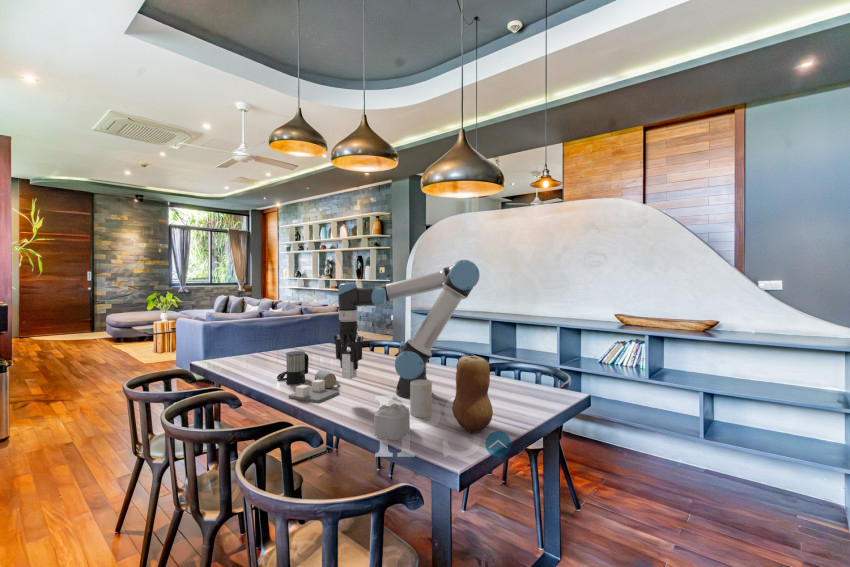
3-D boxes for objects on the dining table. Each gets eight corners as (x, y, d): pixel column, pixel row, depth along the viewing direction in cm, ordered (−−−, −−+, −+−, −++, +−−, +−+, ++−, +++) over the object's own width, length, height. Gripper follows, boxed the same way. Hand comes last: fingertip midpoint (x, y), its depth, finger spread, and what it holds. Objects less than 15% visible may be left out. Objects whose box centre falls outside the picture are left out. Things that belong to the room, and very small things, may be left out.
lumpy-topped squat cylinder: (370, 436, 136) (370, 410, 135) (389, 423, 147) (389, 399, 147) (398, 441, 131) (398, 414, 131) (415, 427, 143) (415, 402, 143)
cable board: (339, 394, 184) (339, 382, 183) (318, 402, 171) (318, 390, 171) (310, 389, 190) (310, 378, 190) (288, 398, 178) (288, 385, 178)
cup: (424, 418, 152) (424, 386, 152) (406, 414, 156) (406, 383, 156) (435, 412, 159) (435, 381, 159) (417, 408, 163) (417, 378, 163)
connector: (356, 376, 174) (355, 350, 174) (350, 378, 170) (350, 352, 170) (348, 375, 175) (347, 349, 175) (342, 378, 172) (342, 351, 172)
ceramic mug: (323, 390, 190) (324, 373, 190) (314, 387, 195) (314, 370, 195) (343, 386, 197) (343, 370, 197) (333, 383, 203) (333, 367, 203)
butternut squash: (500, 432, 139) (501, 357, 138) (470, 441, 131) (470, 362, 130) (473, 420, 150) (473, 351, 150) (443, 428, 142) (443, 355, 142)
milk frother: (302, 385, 199) (301, 354, 198) (269, 385, 199) (269, 354, 199) (310, 377, 213) (310, 349, 212) (280, 377, 213) (280, 349, 213)
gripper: (325, 320, 173) (327, 376, 173) (360, 322, 165) (361, 380, 166) (337, 318, 179) (338, 372, 180) (370, 320, 172) (371, 376, 173)
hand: (349, 376), depth 173 cm, fingers closed on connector, 4 cm apart
